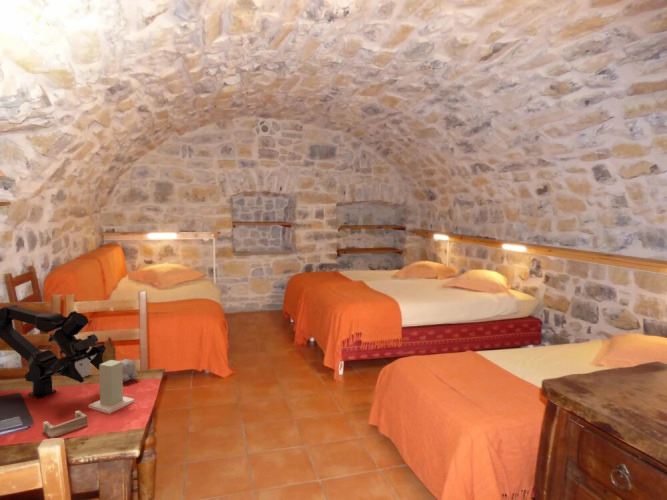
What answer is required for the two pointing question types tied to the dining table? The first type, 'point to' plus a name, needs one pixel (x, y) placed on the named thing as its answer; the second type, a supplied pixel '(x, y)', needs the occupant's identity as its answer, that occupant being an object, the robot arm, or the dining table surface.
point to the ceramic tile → (109, 408)
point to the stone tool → (109, 351)
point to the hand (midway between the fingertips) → (93, 376)
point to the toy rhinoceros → (128, 370)
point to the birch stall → (65, 425)
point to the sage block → (111, 382)
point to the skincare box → (84, 366)
